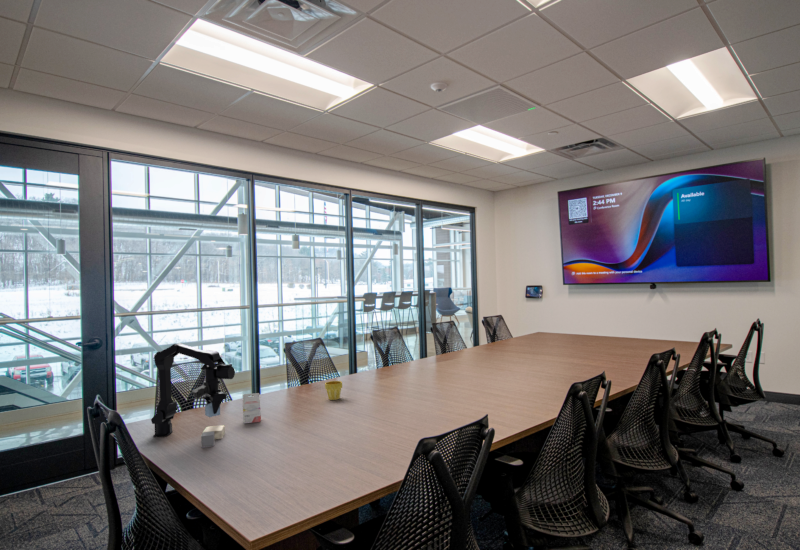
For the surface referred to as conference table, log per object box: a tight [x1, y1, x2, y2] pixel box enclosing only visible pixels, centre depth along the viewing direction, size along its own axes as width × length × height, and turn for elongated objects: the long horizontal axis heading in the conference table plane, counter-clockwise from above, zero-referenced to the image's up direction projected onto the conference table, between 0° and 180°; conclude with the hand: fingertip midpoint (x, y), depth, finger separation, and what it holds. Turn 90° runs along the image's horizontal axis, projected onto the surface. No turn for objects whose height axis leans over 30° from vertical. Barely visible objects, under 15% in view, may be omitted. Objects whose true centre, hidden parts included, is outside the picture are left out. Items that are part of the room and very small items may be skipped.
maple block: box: [202, 425, 226, 440], centre depth 207 cm, size 8×8×4 cm
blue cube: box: [204, 403, 221, 418], centre depth 207 cm, size 5×5×5 cm
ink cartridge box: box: [242, 392, 262, 424], centre depth 229 cm, size 9×5×15 cm, turn 105°
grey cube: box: [200, 431, 216, 448], centre depth 196 cm, size 5×5×5 cm
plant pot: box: [324, 380, 343, 401], centre depth 270 cm, size 10×10×10 cm
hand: (212, 412), depth 207 cm, fingers closed on blue cube, 5 cm apart
